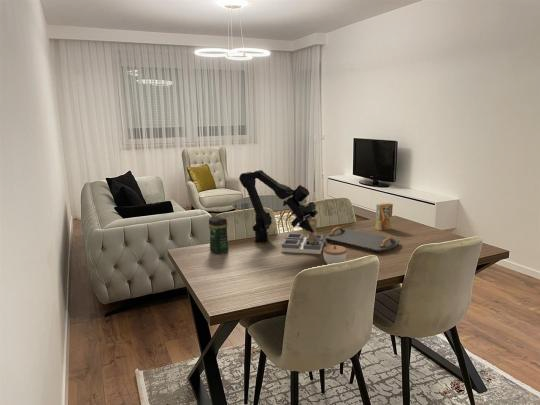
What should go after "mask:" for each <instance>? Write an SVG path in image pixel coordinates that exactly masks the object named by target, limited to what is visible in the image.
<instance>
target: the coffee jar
mask: <svg viewBox="0 0 540 405" xmlns="http://www.w3.org/2000/svg"><path fill="white" fill-rule="evenodd" d="M208 227H209V251H210V252H211V253H212V254H214V255H224V254H227V253H228V252H229V243H228V242H229V241H228V220H227V219H226V218H223V217H221V216H218V215H215V216H210V217H209V219H208Z"/></svg>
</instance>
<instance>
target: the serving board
mask: <svg viewBox="0 0 540 405" xmlns="http://www.w3.org/2000/svg"><path fill="white" fill-rule="evenodd" d="M324 240H325V241H326V242H330V241H334V242H337V243H341V244H347V245H350V246H353V247H354V246H355V247H359V248H364V249H368V250H372V251H376V254H378V255H381V254H382V251H386V250H390V249H393V248H395V247H397V246H398V245H399V243H400V240H399V239H397V238H395V237H391V236H385V235H378V234H375V233H371V232H370V233H369V232H365V231H360V230H355V229H351V228H343V227H342V226H337V227H335V228H333V229H331V232H329V233H327V234H326V236H324Z"/></svg>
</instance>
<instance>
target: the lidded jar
mask: <svg viewBox="0 0 540 405" xmlns="http://www.w3.org/2000/svg"><path fill="white" fill-rule="evenodd" d="M322 251H323V253H322V254H323V259H324V261H325V263H326V264H327V265H328V264H332V263H338V262H343V261H344V262H345V261H346V258H347V248H346V247H344V246H342V245H336V244H335V245H334V244H333V245H332V244H331V245H326V246H323V247H322Z"/></svg>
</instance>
